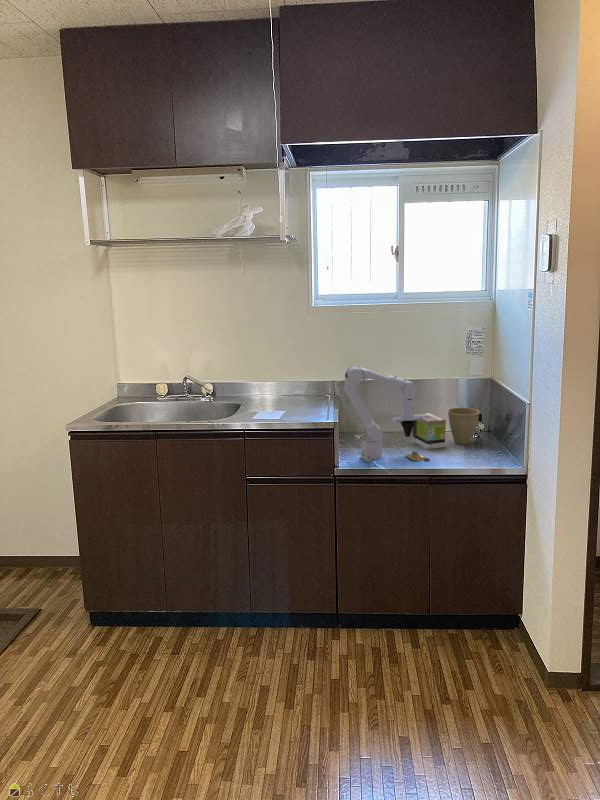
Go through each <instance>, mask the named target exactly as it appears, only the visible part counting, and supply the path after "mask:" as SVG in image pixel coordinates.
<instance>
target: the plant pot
mask: <svg viewBox="0 0 600 800" xmlns="http://www.w3.org/2000/svg"><path fill="white" fill-rule="evenodd" d="M447 415H448V422H449V427H450V431H451V435H452V438H453V441H454V443H455V444H457V445H469V444H471V443H472V439H473V437H474V435H475V432H476V429H477V426H478V423H479V416H480V410H478V409H476V408H471V407H470V408H469V407H451V408H449V409H448V410H447Z"/></svg>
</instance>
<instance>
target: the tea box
mask: <svg viewBox="0 0 600 800" xmlns="http://www.w3.org/2000/svg"><path fill="white" fill-rule="evenodd" d="M415 415H422V416H423V420H414V422H415V425H414V426H413V428H412V443H413V444H417V445H419V446H420V447H423V448H425V449H426V450H432V449H438V448H445V447H446V427H447V426H446V424H447V423H446V421H447V420H446V419H445V418H443V417H440V416H438V415H437V414H433V413H430V412H427V413H417V414H415Z"/></svg>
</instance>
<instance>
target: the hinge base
mask: <svg viewBox="0 0 600 800" xmlns="http://www.w3.org/2000/svg"><path fill="white" fill-rule="evenodd" d="M415 453H418V451H416V450H413V451H412V452H411V455H414V454H415ZM430 461H431V459H430V458H429V457H425V458H424V460H423V462H424V463H425V462H430Z"/></svg>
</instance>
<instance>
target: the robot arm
mask: <svg viewBox="0 0 600 800" xmlns="http://www.w3.org/2000/svg"><path fill="white" fill-rule="evenodd" d="M367 380H372V381H376V382H379V383H381V384H385V386H386V388H388V389H391V390H393V391H397V392H400V393H401V416H397V417H393V418H391V419H392V423H393V424H396V423H400V425H401V426H402V429H403V432H404V436H405V437H406V438H410V437H411V434H412V432H413V426H414V425H415V422H414V420H423V416H422V415H416V414H415V394H416V392H417V388H416V385H415V384H414V383H413V382H412V381H410V380H409V379H406V378H400V377H398V375H396V374H393V375H392V374H391V375H388V376H385V375H383V374H381V373H378V372H376V371H374V370H371V369H368V368H365V367H359V366H357V365H351V366H349V367H348V368H347V369H346V371H345V373H344V387H343V389H344V392H345V394H346V396H347V397H348V399H349V401H350V403H351V404H352V406H353V407H354V409H355V411H356V413H357V415H358V417H359V418H360V419H361V421H362V424H363V425H364V426H365V427H364V428H365V432H366V434H367V436H366V440H362V441H361V442H360V456H359V458H361V459H363V460H364V461H365V462H367V463H370V462H375V459H381V458H382V457H383V437H384V432H383V430H382V429H381V427H380V426H379V425H378V424H377V423H376V422H375V421H374V419H373V417H372V415H371V414H370V413H369V411H368V409H367V407H366V405H365V404H364V402H363V400H362V398H361V397H360V394H359V393H358V392H357V388H358V386H359V385H360V384H361V382H362V381H367Z"/></svg>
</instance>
